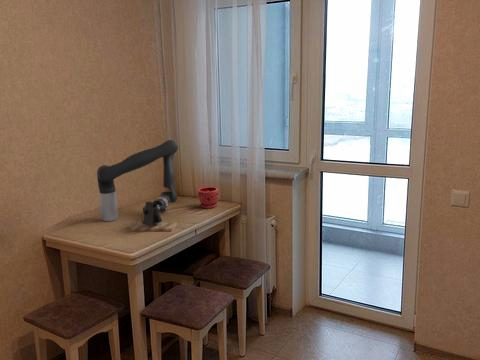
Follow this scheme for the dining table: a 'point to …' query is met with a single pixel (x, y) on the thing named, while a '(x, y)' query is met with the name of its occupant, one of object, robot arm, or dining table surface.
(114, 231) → the dining table surface
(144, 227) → the oak board
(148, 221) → the phone stand
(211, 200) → the plant pot
